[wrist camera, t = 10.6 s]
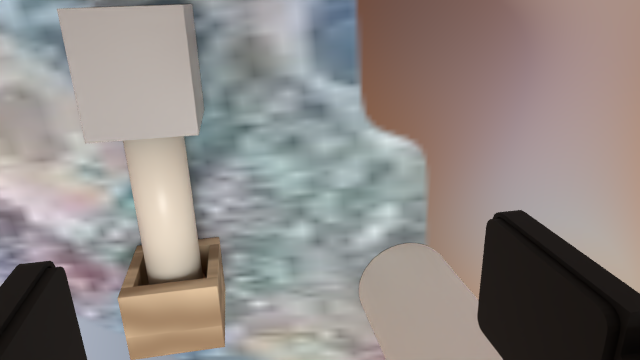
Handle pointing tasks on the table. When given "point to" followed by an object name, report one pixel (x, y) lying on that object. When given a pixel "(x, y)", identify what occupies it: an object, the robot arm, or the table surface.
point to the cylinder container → (421, 307)
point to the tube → (164, 208)
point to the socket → (174, 308)
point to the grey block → (134, 71)
